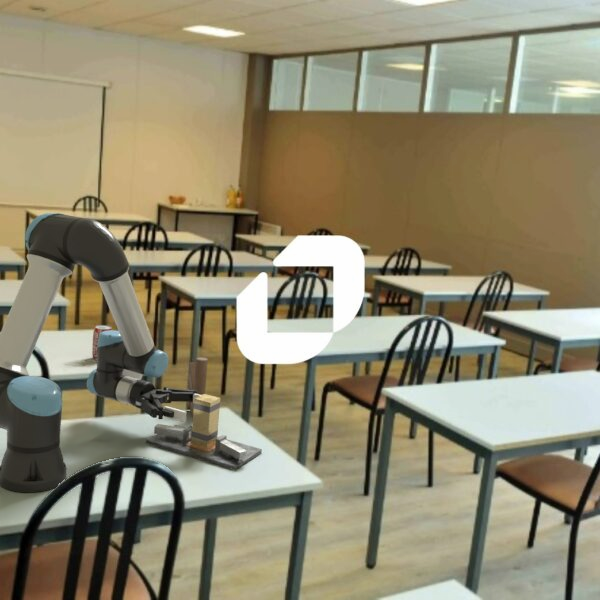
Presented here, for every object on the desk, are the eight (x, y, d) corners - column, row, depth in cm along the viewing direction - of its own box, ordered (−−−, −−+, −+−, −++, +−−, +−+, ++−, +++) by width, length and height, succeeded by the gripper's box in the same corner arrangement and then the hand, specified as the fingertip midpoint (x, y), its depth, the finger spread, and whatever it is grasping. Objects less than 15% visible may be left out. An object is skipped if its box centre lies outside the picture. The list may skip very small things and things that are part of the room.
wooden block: (197, 405, 234) (201, 350, 230) (205, 417, 224) (209, 360, 221) (186, 405, 233) (190, 350, 229) (193, 418, 223) (197, 360, 219)
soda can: (109, 362, 269) (110, 330, 266) (89, 360, 269) (90, 328, 266) (114, 357, 276) (115, 325, 273) (95, 355, 276) (96, 323, 273)
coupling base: (144, 442, 201) (145, 427, 201) (174, 427, 214) (175, 413, 213) (236, 470, 190) (238, 454, 189) (262, 453, 202) (263, 437, 202)
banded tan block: (191, 444, 200) (194, 398, 198) (201, 438, 205) (204, 393, 202) (206, 449, 198) (210, 402, 196) (216, 443, 203) (220, 397, 200)
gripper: (162, 394, 222) (223, 410, 213) (106, 417, 199) (171, 436, 191) (163, 370, 220) (225, 385, 211) (107, 390, 198) (173, 409, 189)
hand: (200, 410), depth 201 cm, fingers open, 13 cm apart
